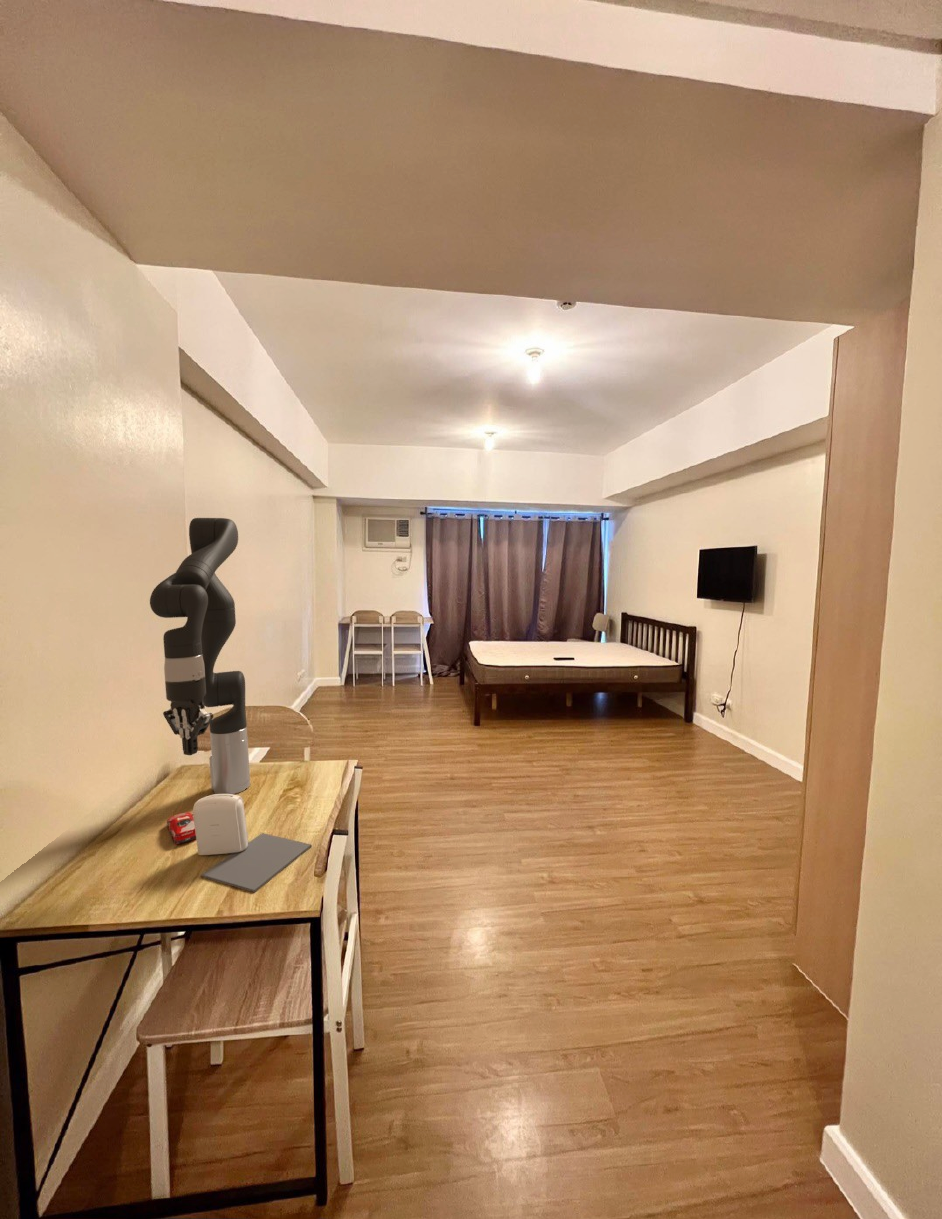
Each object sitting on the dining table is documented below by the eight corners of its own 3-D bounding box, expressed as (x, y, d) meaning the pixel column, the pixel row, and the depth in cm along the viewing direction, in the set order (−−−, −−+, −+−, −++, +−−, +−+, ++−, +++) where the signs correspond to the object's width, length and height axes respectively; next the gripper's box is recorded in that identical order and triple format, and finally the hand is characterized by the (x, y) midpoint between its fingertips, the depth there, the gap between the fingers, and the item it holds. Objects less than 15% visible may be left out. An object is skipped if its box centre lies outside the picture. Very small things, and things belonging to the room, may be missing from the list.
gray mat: (201, 876, 96) (200, 874, 96) (262, 835, 111) (262, 833, 111) (254, 892, 91) (254, 890, 91) (311, 846, 105) (311, 844, 105)
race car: (166, 825, 116) (164, 810, 116) (191, 818, 120) (190, 802, 119) (173, 849, 106) (172, 832, 106) (201, 840, 109) (199, 823, 109)
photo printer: (194, 857, 102) (188, 801, 101) (206, 846, 106) (199, 792, 106) (242, 854, 102) (236, 797, 101) (251, 843, 106) (245, 789, 106)
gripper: (147, 678, 103) (153, 756, 104) (191, 682, 98) (197, 764, 100) (179, 671, 110) (185, 744, 111) (222, 674, 105) (227, 751, 107)
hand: (190, 753), depth 106 cm, fingers closed
